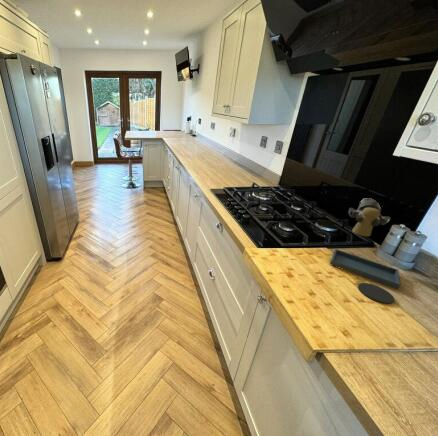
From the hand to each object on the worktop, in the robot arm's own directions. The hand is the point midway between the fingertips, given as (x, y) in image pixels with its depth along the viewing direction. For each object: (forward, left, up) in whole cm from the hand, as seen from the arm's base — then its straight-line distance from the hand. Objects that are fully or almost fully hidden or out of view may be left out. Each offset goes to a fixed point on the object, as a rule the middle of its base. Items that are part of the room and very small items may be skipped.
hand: (367, 222), depth 94 cm
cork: (0, -3, -6) cm, 7 cm away
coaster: (-8, +27, -14) cm, 31 cm away
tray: (-4, +13, -14) cm, 20 cm away
